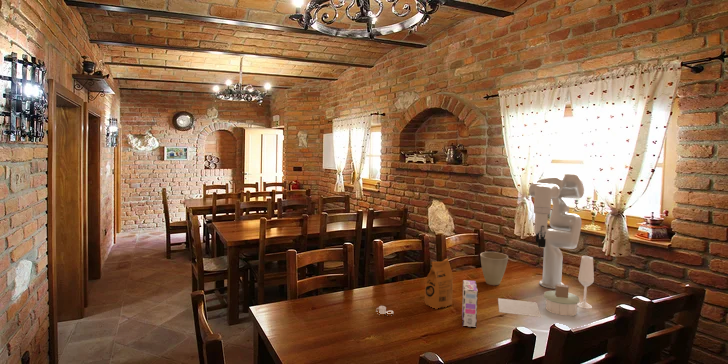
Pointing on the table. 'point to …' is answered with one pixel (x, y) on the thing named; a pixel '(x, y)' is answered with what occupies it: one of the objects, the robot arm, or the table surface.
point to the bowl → (561, 308)
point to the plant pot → (493, 266)
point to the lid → (561, 295)
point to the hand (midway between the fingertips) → (540, 244)
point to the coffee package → (439, 285)
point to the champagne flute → (586, 278)
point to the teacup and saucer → (384, 310)
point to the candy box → (469, 303)
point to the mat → (518, 307)
